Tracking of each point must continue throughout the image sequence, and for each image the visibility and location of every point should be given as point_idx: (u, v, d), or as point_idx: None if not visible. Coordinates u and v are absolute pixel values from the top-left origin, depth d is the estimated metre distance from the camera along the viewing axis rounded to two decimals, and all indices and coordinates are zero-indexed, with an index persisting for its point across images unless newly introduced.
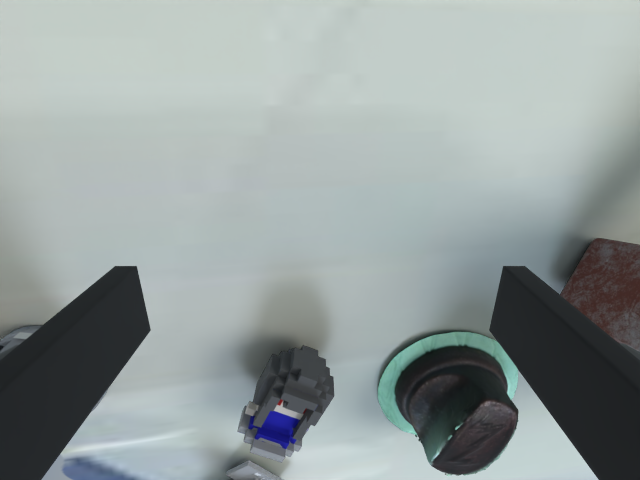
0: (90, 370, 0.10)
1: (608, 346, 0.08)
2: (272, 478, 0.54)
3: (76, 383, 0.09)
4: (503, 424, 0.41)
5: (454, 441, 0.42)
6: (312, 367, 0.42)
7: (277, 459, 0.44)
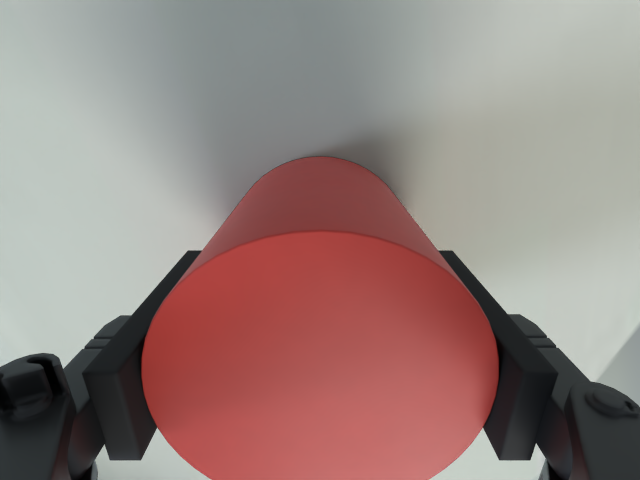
0: None
1: (494, 313, 0.10)
2: None
3: None
4: None
5: None
6: None
7: None
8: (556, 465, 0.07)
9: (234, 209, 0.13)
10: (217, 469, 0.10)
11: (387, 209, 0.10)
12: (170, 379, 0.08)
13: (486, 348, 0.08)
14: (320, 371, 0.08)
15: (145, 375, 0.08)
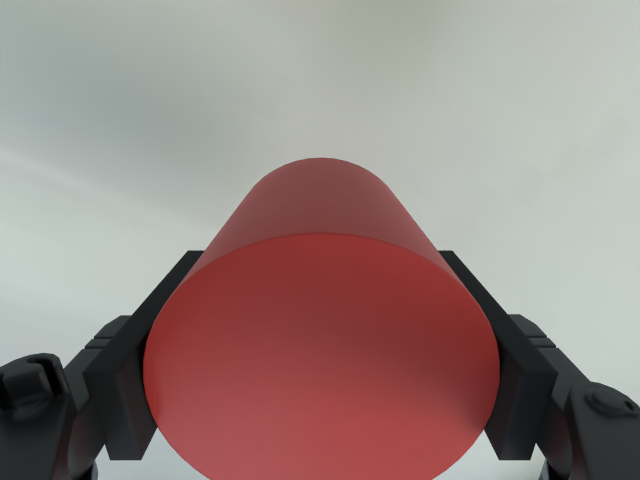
0: None
1: (494, 313, 0.10)
2: None
3: None
4: None
5: None
6: None
7: None
8: (556, 465, 0.07)
9: None
10: (218, 471, 0.10)
11: (388, 211, 0.10)
12: (172, 381, 0.08)
13: (487, 350, 0.08)
14: (322, 372, 0.08)
15: (147, 377, 0.08)
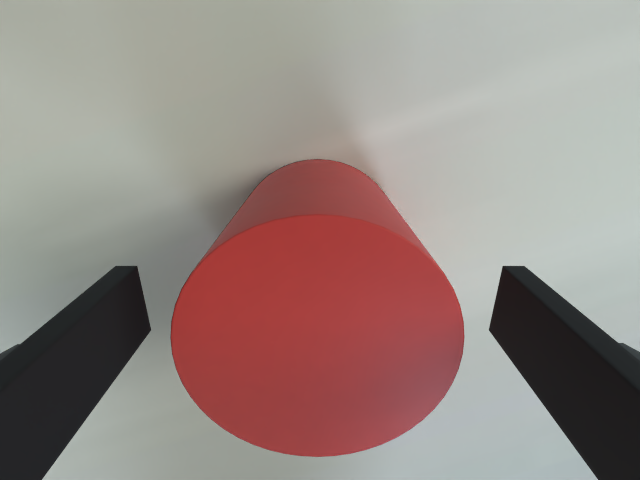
0: (91, 370, 0.10)
1: (607, 346, 0.08)
2: None
3: (78, 382, 0.09)
4: None
5: None
6: None
7: None
8: None
9: (242, 205, 0.15)
10: (231, 421, 0.11)
11: (373, 201, 0.12)
12: (194, 340, 0.10)
13: (452, 312, 0.10)
14: (318, 332, 0.10)
15: (174, 336, 0.10)
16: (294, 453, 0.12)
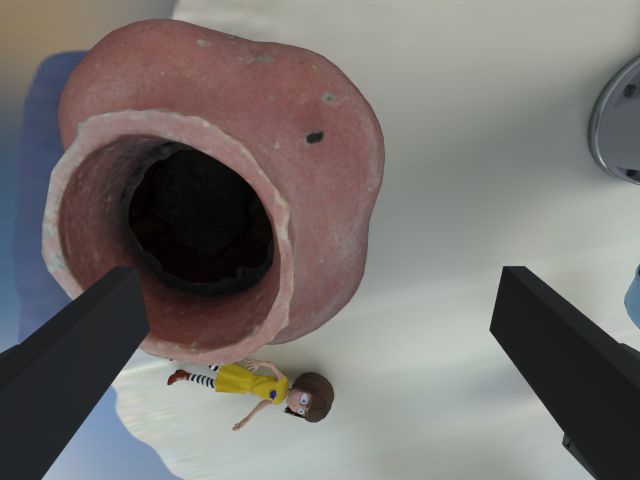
0: (90, 370, 0.10)
1: (608, 346, 0.08)
2: None
3: (77, 383, 0.09)
4: None
5: None
6: None
7: None
8: None
9: None
10: None
11: None
12: None
13: None
14: None
15: None
16: None
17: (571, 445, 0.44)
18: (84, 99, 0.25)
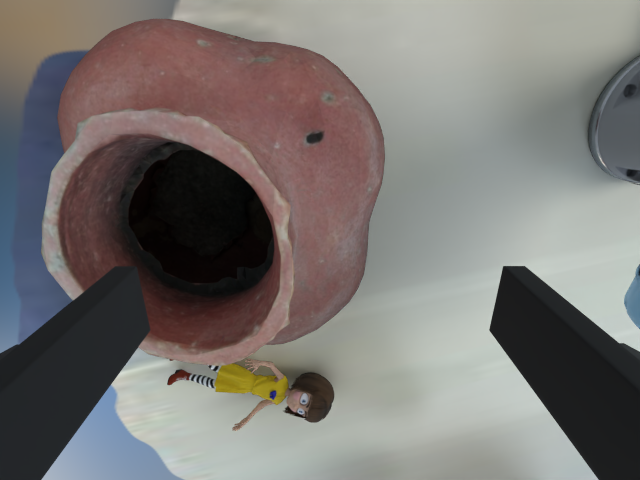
0: (90, 370, 0.10)
1: (608, 346, 0.08)
2: None
3: (77, 383, 0.09)
4: None
5: None
6: None
7: None
8: None
9: None
10: None
11: None
12: None
13: None
14: None
15: None
16: None
17: None
18: (84, 99, 0.25)
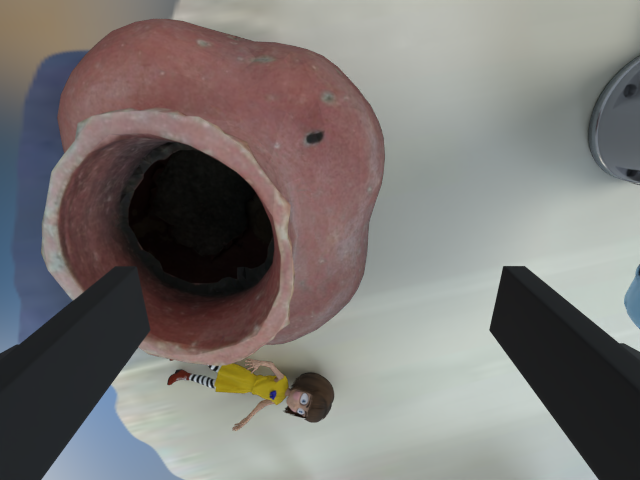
0: (90, 370, 0.10)
1: (608, 346, 0.08)
2: None
3: (77, 383, 0.09)
4: None
5: None
6: None
7: None
8: None
9: None
10: None
11: None
12: None
13: None
14: None
15: None
16: None
17: None
18: (84, 99, 0.25)
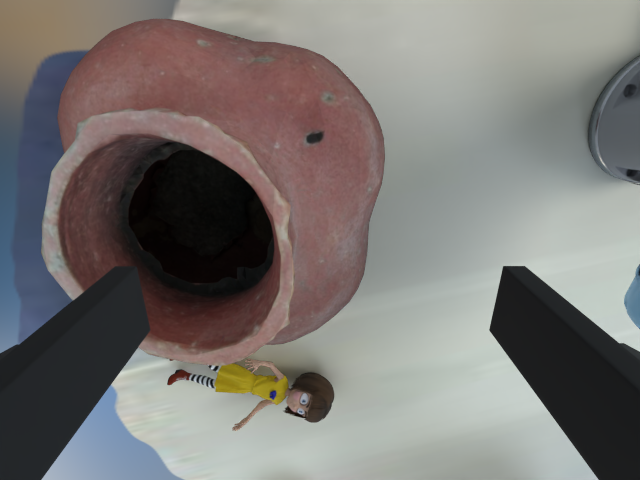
0: (90, 370, 0.10)
1: (608, 346, 0.08)
2: None
3: (77, 383, 0.09)
4: None
5: None
6: None
7: None
8: None
9: None
10: None
11: None
12: None
13: None
14: None
15: None
16: None
17: None
18: (84, 99, 0.25)
